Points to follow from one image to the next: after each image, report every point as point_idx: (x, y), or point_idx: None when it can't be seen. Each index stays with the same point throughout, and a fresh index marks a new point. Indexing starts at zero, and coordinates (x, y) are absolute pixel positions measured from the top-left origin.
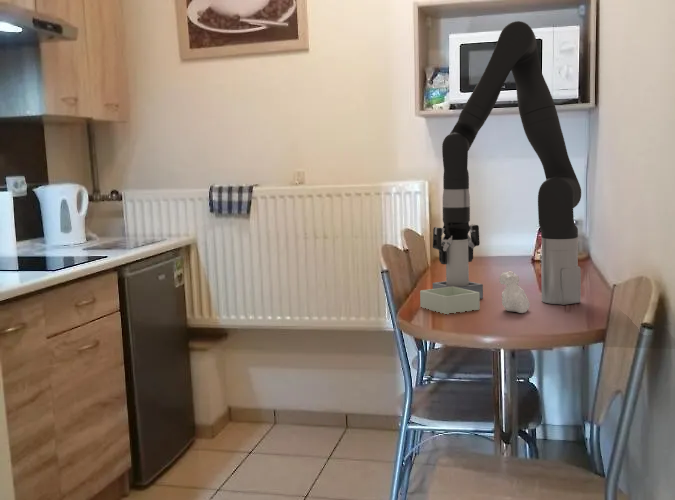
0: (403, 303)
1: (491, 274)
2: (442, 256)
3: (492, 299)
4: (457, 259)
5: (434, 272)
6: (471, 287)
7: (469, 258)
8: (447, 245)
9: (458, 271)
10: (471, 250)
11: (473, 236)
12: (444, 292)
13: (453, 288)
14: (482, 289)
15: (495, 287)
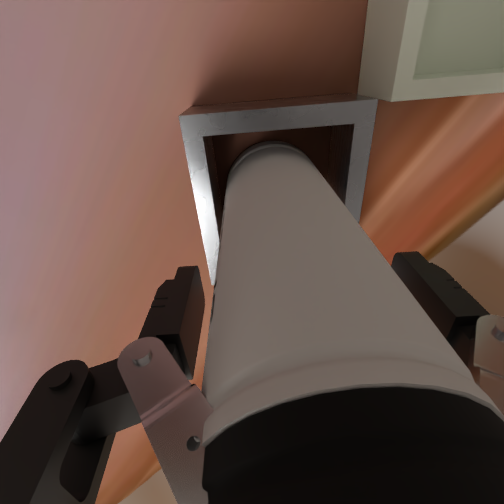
0: (499, 192)
1: (13, 412)
2: (462, 291)
3: (160, 53)
4: (355, 228)
5: (147, 460)
6: (258, 107)
7: (194, 282)
8: (495, 365)
9: (323, 188)
10: (166, 323)
11: (64, 502)
12: (452, 74)
13: (412, 65)
14: (186, 112)
15: (54, 274)
